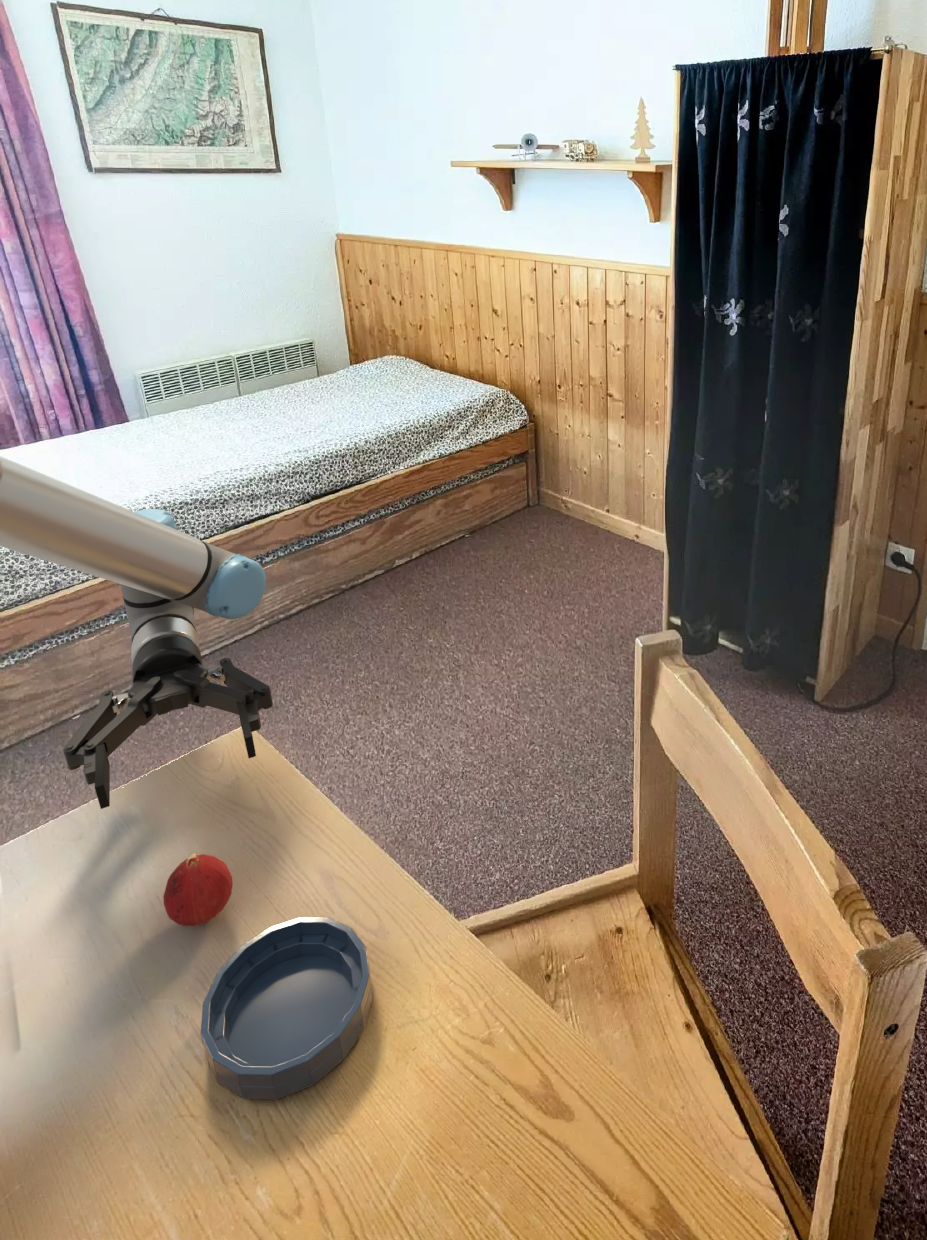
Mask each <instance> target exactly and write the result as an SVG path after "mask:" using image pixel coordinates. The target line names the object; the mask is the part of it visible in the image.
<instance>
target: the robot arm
mask: <svg viewBox="0 0 927 1240" xmlns="http://www.w3.org/2000/svg"><path fill="white" fill-rule="evenodd" d="M0 548H5V549H8V550H11V551H14V552H17V553H21V554H24V555H27V556H30V557H33V558H36V559H39V560H42V561H46V562H49V563H52V564H55V565H58V566H62V567H66V568H67V569H72V570H75V571H78V572H80V573H83V574H87V575H91V576H93V577H97V578H100V579H103V580H106V581H109V582H113V583H116V584H119V587H120V589H121V593H122V598H123V604H124V608H125V609H124V610H125V613H126V616H127V617H126V618H127V621H128V625H129V630H130V641H131V645H130V646H131V649H130V653H131V654H130V655H131V674H132V675H131V677H132V687H130V689H129V690H128V692H123V693H119V694H115V695H114V691H113V690H106V691H103V692H102V693H101V694H100V696H99V697H100V698H99V702H98V705H96V706H95V708H94V709H93V711H92V712H91V713H90V715H89V716H88V717H87V718H86V719H85V721H84V722H83V723H82V724H81V726H80V727H79V728H78V729H77V731H76V732H75V733H74V734H73V736H72V737H71V738H70V739H69V740H68V742H67V743H66V745H65V746H63V749H62V751H63V755H64V758H65V761H66V765H67V768H68V770H70V771H74V770H75V771H76V770H77V769H79V768H80V767H82V766H83V772H82V773H83V775H84V779H85V782H86V784H87V785H88V786H90V785H93V784H94V790H95V794H96V798H97V801H98V804H99V808H100V810H102V809H105V808H108V807H110V804H111V803H110V802H111V801H110V799H111V797H110V796H111V795H110V794H111V793H110V791H111V790H110V789H111V785H110V784H111V783H110V782H111V781H110V779H111V778H110V777H111V776H110V775H111V773H110V772H111V770H110V769H111V765H110V761H109V757H110V756H111V755H112V753H114V752H115V751H116V750H118V748H119V747H120V746H121V745H122V744H123V743H124V742H126V740H127V739H128V738H129V737H130V736H131V735H133V734H134V733H135V732H136V730H137V729H138V728H140V727H144V726H146V725H148V723H149V722H151V721H152V720H153V719H154V718H155V717H156V716H158V717H159V716H162V715H164V714H168V713H170V712H173V711H176V710H181V709H185V708H188V707H189V705H191V706H194V707H195V706H196V707H198V708H201V709H202V708H203V709H205V708H206V707H210V708H214V709H218V710H221V711H224V712H227V713H231V714H235V715H238V717H239V722H240V726H241V731H242V735H243V740H244V743H245V745H244V746H245V749H246V753H247V757H248V759H252V758H255V757H257V753H256V749H255V743H254V742H255V741H254V737H253V732H256V731H260V730H261V728H262V724H261V723H262V722H261V718H260V717H261V716H260V713H259V711H260V710H262V709H263V710H268V709H270V708H272V707H273V705H274V704H273V697H272V693H271V692H272V691H271V686H270V685H268V684H267V683H265V682H263V681H261V680H259V679H258V678H255V677H254V676H252V675H251V674H249V673H247V672H245V671H244V670H242V669H240V668H238V667H237V666H235V665H234V663H233V661H232V660H231V658H230V657H223V658H222V659H220V660H219V665H218V666H216V667H215V666H214V667H212V668H210V669H207V668H206V667H204V664H203V660H202V659H203V658H202V653H201V649H200V643H199V635H198V633H197V628H196V622H195V611H194V609H196V610H198V611H202V612H204V613H207V614H209V615H211V616H212V617H217V618H218V617H219V618H223V619H226V620H237V619H241V618H243V617H245V616H248V615H249V614H250V613H251V612H253V611H254V610H255V609H256V608H257V607H258V606H259V604H260V603H261V600H262V599H263V596H264V594H265V591H266V588H267V576H266V572H265V570H264V568H263V566H262V565H261V564H260V563H258V562H257V561H256V560H254V559H251V558H249V557H248V556H245V555H244V554H241V553H235V552H233V551H232V552H231V551H228V550H226V549H223V548H221V547H219V546H216V545H214V544H211V543H209V542H207V541H204V540H201V539H199V538H197V537H195V536H193V535H191V534H188V533H185V532H183V531H181V530H179V529H178V526H177V525H176V522H175V518H174V516H173V515H172V514H171V512H169V511H167V510H164V509H161V508H160V509H159V508H157V509H156V508H148V509H141V510H135V511H133V510H131V509H129V508H126V507H123V506H121V505H119V504H116V503H114V502H112V501H109V500H108V499H107V500H106V499H104V498H102V497H99V496H97V495H95V494H93V493H90V492H87V491H85V490H82V489H80V488H78V487H75V486H73V485H70V484H68V483H66V482H63V481H62V480H59V479H56V478H54V477H52V476H49V475H47V474H45V473H42V472H39V471H37V470H35V469H32V468H30V467H27V466H25V465H23V464H20V463H18V462H16V461H13V460H12V459H8V458H6V457H4V456H2V455H0ZM211 681H216V682H219V684H218V683H214V682H211ZM124 707H125V708H124Z"/></svg>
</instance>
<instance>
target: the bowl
mask: <svg viewBox="0 0 927 1240" xmlns="http://www.w3.org/2000/svg"><path fill="white" fill-rule="evenodd" d="M368 958H369V957H368V950H367V946H366V945H365V944H364V942H363V941H362V940H361V938H360V936H358V934H357V933H356V931H355V930H354V929H353V928H352V927H351V926H349V925H347V924H344V923H342V922H340V921H338V920H335V919H333V918H331V917H327V916H325V917H323V916H315V917H314V916H299V917H296V918H293V919H290V920H287V921H284V922H280V923H277V924H274V925H271V926H269V927H267V928H266V929H265V930H263V931H262V932H259V933H258V934H257V935H255V936H254V937H251V939H249V940H248V941H246V942H245V943H243V944H241V946H239V948H238V949H237V950H236V951H235V952H234V953H233V954H232V955H231V956H230V958H228V959H227V961H226V962H225V963H224V964H223V965H222V967H220V968H219V970H218V971H217V972H216V974H215V977H214V978H213V981H212V982H211V985H210V986H209V989H208V991H207V993H206V995H205V998H204V1000H203V1002H202V1009H201V1021H200V1022H201V1023H200V1037H201V1042H202V1045H203V1049H204V1053H205V1058H206V1060H207V1062H208V1065H209V1067H210V1068H211V1071H212V1074H213V1075H214V1077H215V1079H216V1082H217V1084H218V1085H220V1086H221V1087H223V1088H225V1089H227V1090H228V1091H230V1092H232V1093H233V1094H235V1095H237V1096H238V1097H240V1098H242V1099H244V1100H279V1099H281V1098H284V1097H287V1096H289V1095H292V1094H294V1093H297V1092H299V1091H302V1090H305V1089H307V1088H310V1087H312V1086H314V1085H315V1084H316V1083H317V1082H319V1081H320V1080H321V1079H322V1078H323V1077H325V1076H326V1075H327V1074H328V1073H330V1071H332V1070H333V1069H335V1067H337V1066H338V1065H339V1064H341V1063H342V1062H343V1061H344V1060H345V1058H346V1057H347V1055H348V1054H349V1052H350V1051H351V1049H352V1048H353V1046H354V1045H355V1043H356V1042H357V1040H358V1039H359V1037H360V1036H361V1034H362V1033H363V1031H364V1030H365V1028H366V1023H367V1020H368V1016H369V1012H370V1009H371V1006H372V1002H373V998H374V997H373V988H372V980H371V972H370V965H369V959H368Z"/></svg>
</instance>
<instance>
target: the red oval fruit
mask: <svg viewBox="0 0 927 1240" xmlns="http://www.w3.org/2000/svg"><path fill="white" fill-rule="evenodd" d="M233 881H234V880H233V875H232V874H231V871H230V869H229V867H228V865H227V864H226V863H225V862H224V861H223V860H222V859H220V858H218V857H216V856H214V855H210V854H205V853H204V854H203V853H202V854H201V853H200V854H198V853H194V852H193V853H191V854H190V855H189V856H188V857H187V858H186V859H185V860H183V861H182V862H180V863H179V864H178V866H177V867H175V869H174V870H173V871H172V872H171V873H170V875H169V876H168V878H167V881H166V885H165V890H164V892H163V906H164V909H165V912H166V915H167V916H168V918H169V920H171V921H173V922H174V923H176V924H178V925H180V926H182V927H196V926H199V925H200V926H201V925H202V924H206V923H207V922H210V921H211V920H213V919H214V918H216V917H217V916H218V915H219V914H220V913H221V912H222V911H223V910H224V909H225V907H226V905H227V904H228V902H229V900H230V898H231V896H232V894H233V893H232V892H233V887H234V886H233Z"/></svg>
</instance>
